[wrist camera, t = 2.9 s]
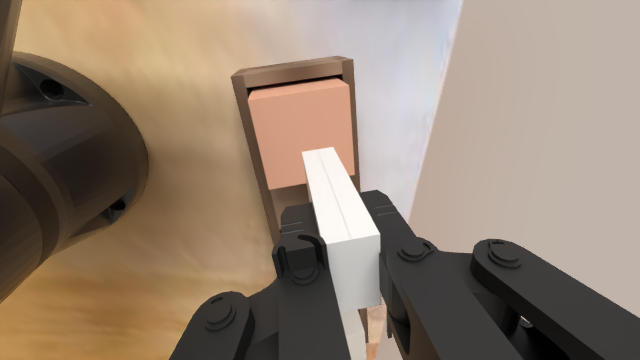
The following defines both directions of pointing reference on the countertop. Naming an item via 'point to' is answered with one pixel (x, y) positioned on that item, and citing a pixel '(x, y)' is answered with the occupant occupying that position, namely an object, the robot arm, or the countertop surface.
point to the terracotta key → (301, 126)
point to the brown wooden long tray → (243, 87)
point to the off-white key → (354, 334)
